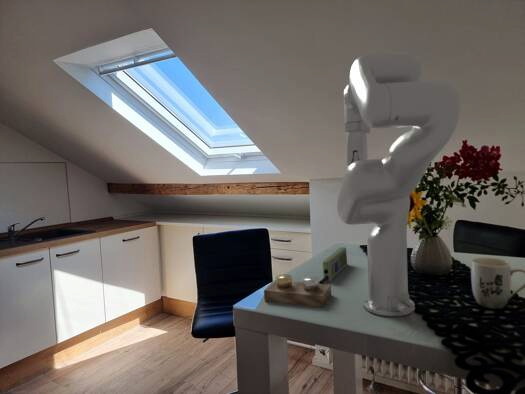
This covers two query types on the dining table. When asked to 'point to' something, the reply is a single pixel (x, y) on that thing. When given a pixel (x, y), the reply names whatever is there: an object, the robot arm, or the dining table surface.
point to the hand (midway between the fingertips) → (359, 188)
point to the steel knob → (311, 283)
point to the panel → (298, 294)
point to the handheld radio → (334, 264)
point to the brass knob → (284, 281)
